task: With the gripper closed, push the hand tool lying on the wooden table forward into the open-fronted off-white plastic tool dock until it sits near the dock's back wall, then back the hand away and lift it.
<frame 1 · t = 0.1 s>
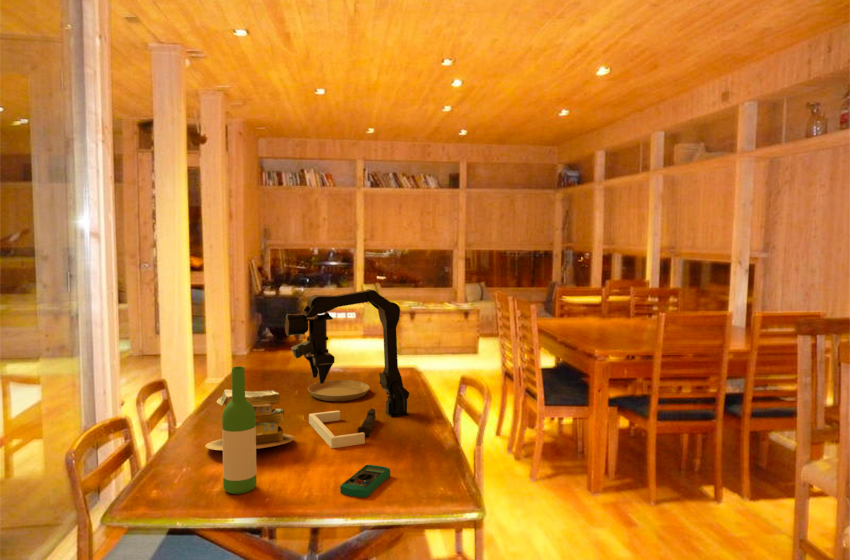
hand: (318, 380, 197), 15 cm above the table, tool pointing down, fingers open, 9 cm apart
plate of stacked boxes: (250, 448, 175), on the table
hand tool: (367, 429, 193), on the table
wine bottle: (240, 489, 146), on the table
digital multimeter: (366, 486, 149), on the table
plant saucer: (338, 395, 236), on the table
tool dock: (337, 432, 189), on the table
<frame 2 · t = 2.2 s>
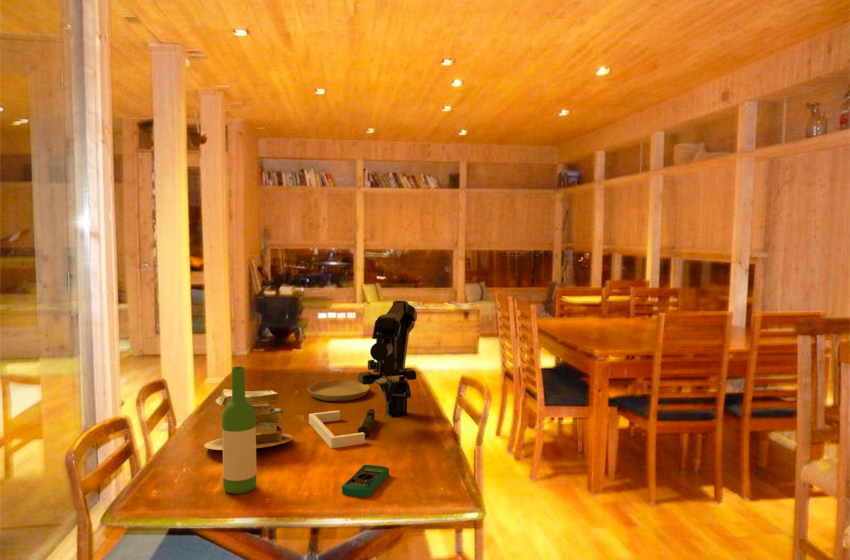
hand: (387, 401, 196), 8 cm above the table, tool pointing down, fingers closed
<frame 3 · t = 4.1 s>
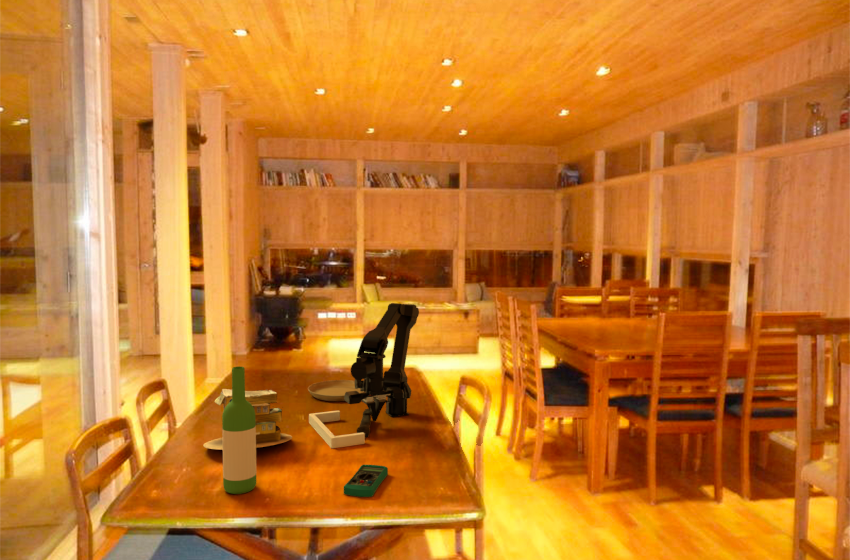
hand: (374, 421, 194), 2 cm above the table, tool pointing down, fingers closed
hand tool: (364, 429, 193), on the table, touching gripper
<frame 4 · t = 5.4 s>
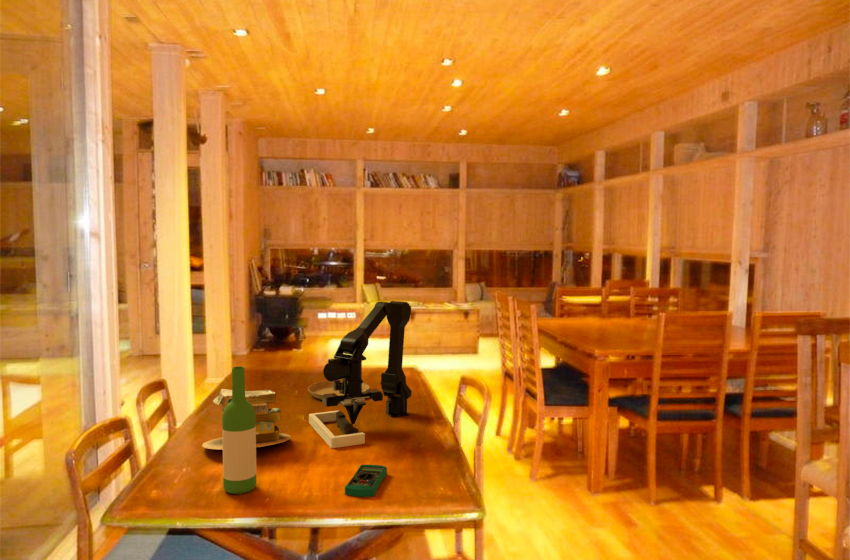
hand: (352, 423, 191), 2 cm above the table, tool pointing down, fingers closed
hand tool: (343, 432, 190), on the table
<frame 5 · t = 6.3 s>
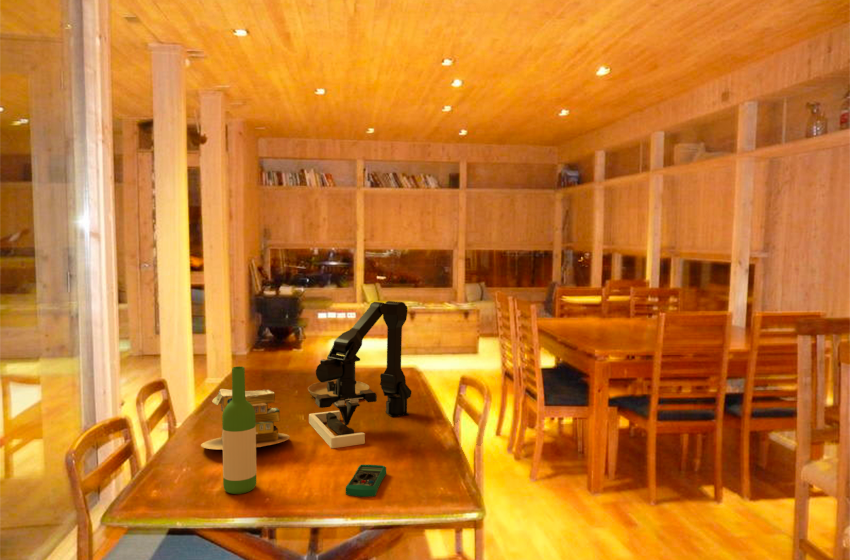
hand: (346, 424, 190), 2 cm above the table, tool pointing down, fingers closed
hand tool: (336, 433, 189), on the table
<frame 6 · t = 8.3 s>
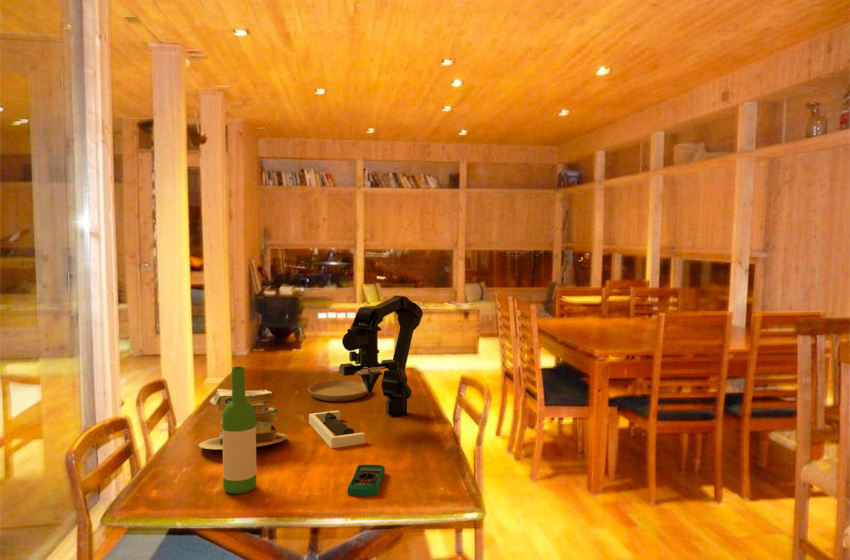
hand: (369, 393, 194), 11 cm above the table, tool pointing down, fingers closed
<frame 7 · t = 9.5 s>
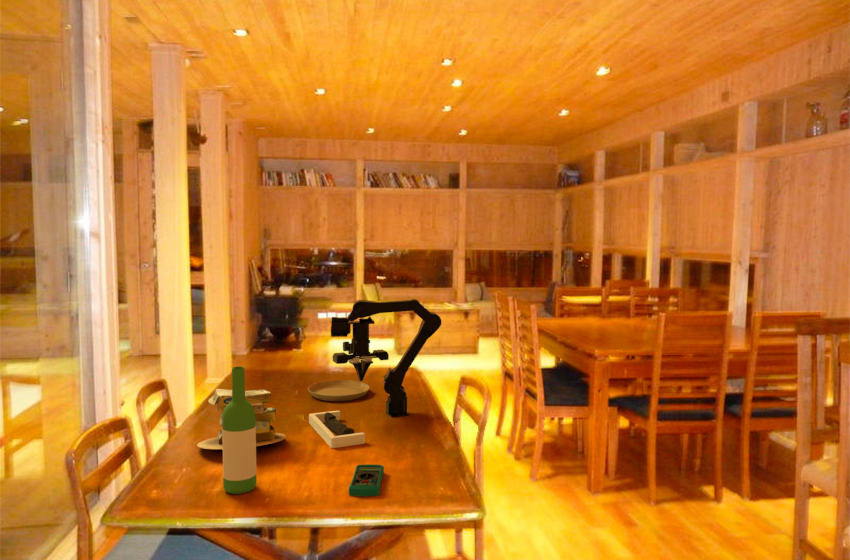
hand: (360, 381, 207), 12 cm above the table, tool pointing down, fingers closed
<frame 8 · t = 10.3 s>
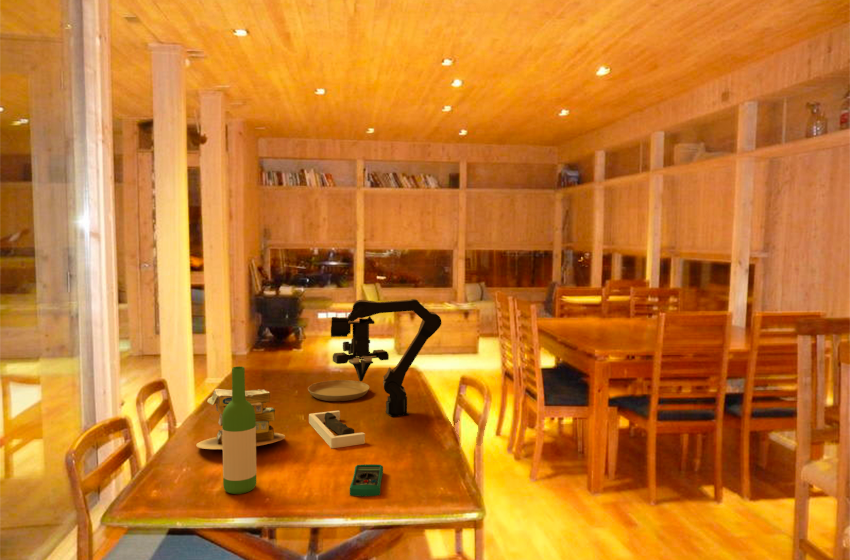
hand: (360, 381, 207), 12 cm above the table, tool pointing down, fingers closed
at the end: hand tool inside the target area on the tool dock (0.5 cm from its centre), point 0.0 cm above the tool dock's base; hand tool tilted 0° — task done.
